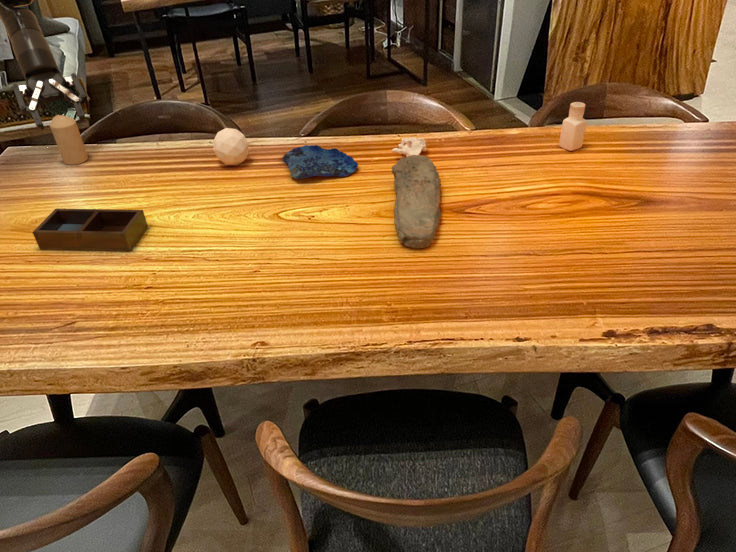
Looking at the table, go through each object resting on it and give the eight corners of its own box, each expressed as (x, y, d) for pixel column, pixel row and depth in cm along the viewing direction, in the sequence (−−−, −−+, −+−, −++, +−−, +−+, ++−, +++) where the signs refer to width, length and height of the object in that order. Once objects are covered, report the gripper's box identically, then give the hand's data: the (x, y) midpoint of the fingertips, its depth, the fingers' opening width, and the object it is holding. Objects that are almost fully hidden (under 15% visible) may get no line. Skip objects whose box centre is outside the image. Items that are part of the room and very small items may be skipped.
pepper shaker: (569, 142, 144) (577, 99, 137) (582, 147, 141) (591, 104, 135) (557, 146, 142) (564, 103, 136) (570, 152, 140) (578, 108, 133)
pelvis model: (402, 130, 142) (430, 131, 140) (404, 149, 145) (431, 149, 143) (390, 143, 137) (419, 144, 134) (392, 162, 139) (420, 163, 137)
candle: (93, 157, 146) (78, 113, 139) (76, 166, 142) (60, 122, 135) (76, 153, 147) (60, 110, 141) (58, 162, 144) (41, 119, 137)
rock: (295, 185, 131) (294, 176, 129) (277, 156, 143) (276, 147, 142) (361, 174, 134) (361, 166, 133) (338, 147, 146) (337, 138, 145)
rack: (39, 249, 115) (32, 232, 112) (62, 225, 121) (55, 208, 119) (130, 251, 113) (124, 233, 111) (148, 226, 120) (143, 209, 117)
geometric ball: (242, 177, 142) (243, 157, 134) (208, 164, 140) (207, 144, 133) (253, 149, 144) (254, 128, 136) (219, 136, 142) (218, 115, 135)
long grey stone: (387, 256, 111) (442, 259, 111) (388, 231, 108) (445, 233, 108) (392, 164, 136) (437, 166, 136) (393, 141, 132) (440, 143, 132)
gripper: (-3, 52, 134) (26, 122, 135) (65, 41, 140) (93, 109, 140) (5, 72, 142) (32, 139, 142) (69, 61, 147) (96, 125, 147)
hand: (62, 124), depth 141 cm, fingers open, 8 cm apart
